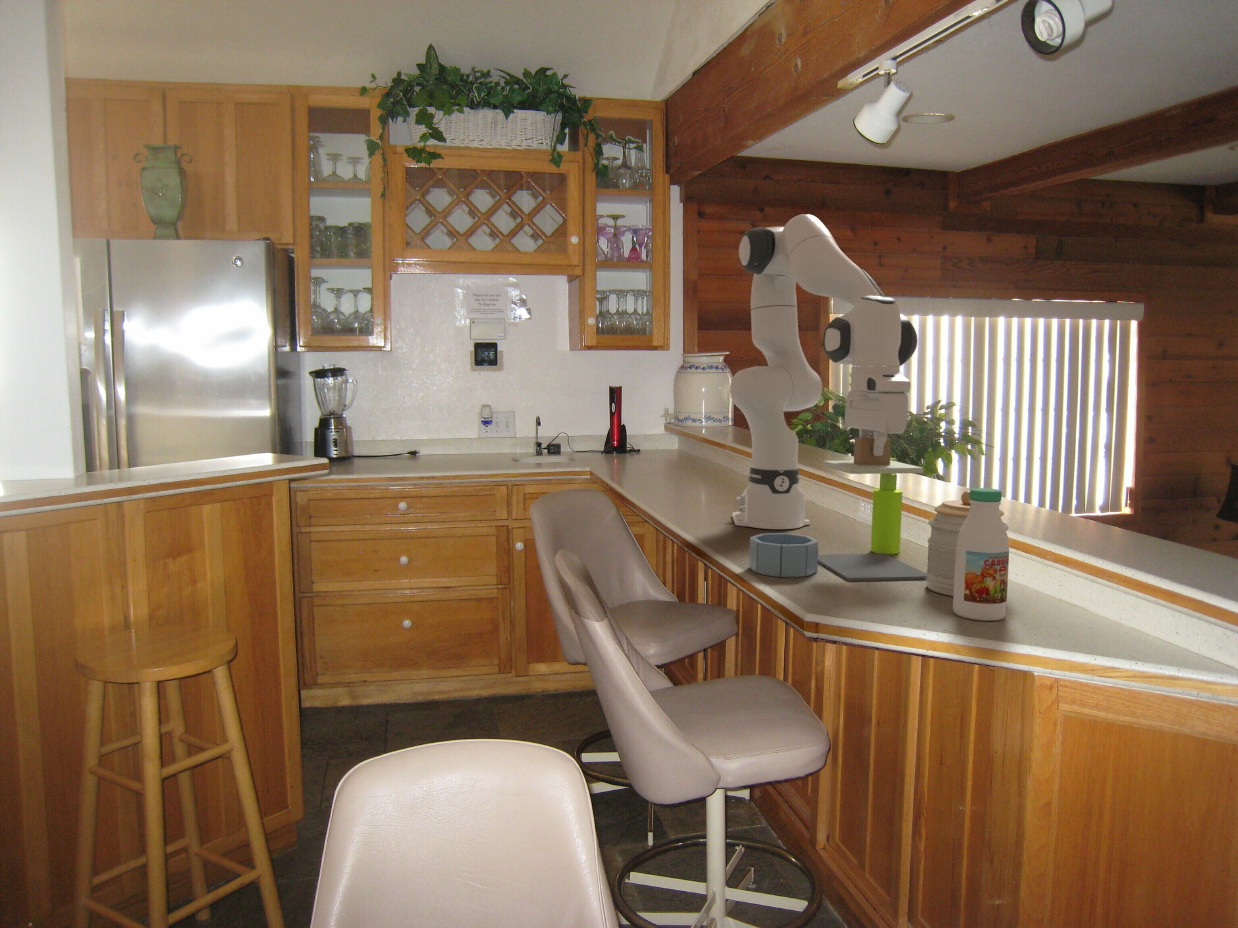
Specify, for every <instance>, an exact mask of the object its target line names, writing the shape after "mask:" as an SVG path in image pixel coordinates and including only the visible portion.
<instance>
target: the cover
mask: <svg viewBox="0 0 1238 928" xmlns="http://www.w3.org/2000/svg"><path fill="white" fill-rule="evenodd" d="M874 439H875V437H871V438H860V437H854V441H853V442H854V443H853V446H854V447H853V459H852V460H851V459H850V460H822V461H823V463H822V465H823V467H826V468H830V469H832V470H833V469H834V470H837V471H840V472H844V473H847V474H850V475H865V474H866V475H869V474H870V475H876V474H877V475H880V474H924V471H925V470H924V468H925V467H921V466H917V465H913V464H909V463H905V462H904V463H903V462H901V461H900V462H899V461H897V462H896V461H892V460H890V458H891V454H892V453H891V449H892V446H891V445H892V438H888V437H887V439H886V442H885V444H884V446H883V455H882V456H875V455H872V454H871V446H873V444H874Z"/></svg>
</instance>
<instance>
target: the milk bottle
mask: <svg viewBox="0 0 1238 928" xmlns="http://www.w3.org/2000/svg"><path fill="white" fill-rule="evenodd" d="M969 491H970V493H969V498H970V501H969V502H970V504H971V506H970V511H969V514H968V516H967V518H966V520H965V522H964V524H963V526H962V528H961V530H960V532H959V535H958V539H957V547H956V559H955V576H954V596H952V597H953V599H952V609H953V613H954V614H955V615H957V616H958V617H962V618H964V619H968V620H976V621H982V622H983V621H986V622H991V621H992V622H993V621H1001V620H1003V619H1005V617H1006V613H1007V603H1008V599H1007V598H1008V583H1009V561H1010V558H1009V557H1010V543H1009V541H1010V540H1009V536H1008V533H1007V531H1006V530H1005V527H1004V525H1003V523H1002V521H1003V519H1002V516H1000V512H999V509H1000V506H1001V505H1002V495H1003V493H1002V491H1001V490H1000V489H996V488H988V487H987V488H986V487H985V488H984V487H976V488H975V487H972V488H970V490H969ZM1001 519H1002V520H1001Z"/></svg>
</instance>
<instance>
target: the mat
mask: <svg viewBox="0 0 1238 928" xmlns="http://www.w3.org/2000/svg"><path fill="white" fill-rule="evenodd" d="M818 565H821V566H823V567H824V568H826V569H828V571H831V572H832V573H833V574H836V575H837V576H839V577H840V578H842V579H844V580H845V581H847V582H877V581H878V582H880V581H881V582H883V581H886V582H888V581H915V580H916V581H919V580H920V581H921V580H925V581H926V572H924V571H922V570H920V569H917V568H916V567H913V566H912V565H909V564H907V563H905V562H903V561H901V560H899V559H897V558H895V557H892V556H891V555H890V554H885V553H838V554H837V553H836V554H835V553H833V554H818Z"/></svg>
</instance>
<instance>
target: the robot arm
mask: <svg viewBox="0 0 1238 928" xmlns="http://www.w3.org/2000/svg"><path fill="white" fill-rule="evenodd" d="M738 259H739V262H740V265H741V267H742V268H743V269H744V271H746V272H747V273H749V274H753V277H752V282H751V289H750V290H751V292H750V320H751V321H750V323H751V341H752V343H753V345H754V346H755V348H756V349H757V350H759V351H760V352H762V354H763V356H764V358H765V359H766V362H767V365H768V366H767V365H764V366H761V365H756V366H751V367H746V368H743V369H740V370H738V371H737V372H736V373H735V374H734V375H733V377H732V380H731V382H730V386H729V393H730V398H731V400H732V403H733V404H734V405H735V406H736V407H737V408H738V409H739V410H740V411H741V413H742V414H743V416H744V417H745V419H746V422H747V424H748V426H749V431H750V435H751V467H750V469H749V473H748V481H749V482H748V484H747V486H746V487H745V489H744V491H743V492H742V494H741V495H740V496H736V498H735V506H736V507H740V508H739V511H733V512H731V517H732V520H733V522H734V525H735V526H739V527H750V528H756V529H765V530H766V529H767V530H791V529H798V528H801V527H803V526H808V525H811V520H810V519H809V518H808V519H807V518H805V517H806V515H805V512H806V510H805V492H804V491H803V490H802V489H801V488H800V487H799V483H800V477H801V476H800V469H799V468H798V461H799V460H798V459H799V438H798V435H797V434H796V432H794V431H793V430H792V429H790V428H789V426H788V425H787V424H788V423H787V422H786V419H785V415H784V414H785V413H784V412H799V411H802V410H806V409H809V408H812V407H813V406H815V405H817V403H818V402H819V401H820V399H821V397H822V395H823V382H822V379H821V377H820V375H819V374H818V373H817V372H816V371H815V370H814V369H812V367H811V366H810V364H809V362H808V361H807V359H806V356H805V354H804V351H803V349H802V346H801V342H800V335H799V327H798V326H799V324H798V323H799V322H798V321H799V320H798V302H797V291H796V289H797V284H798V286H799V287H801V289H803V290H804V291H806V292H807V293H810V294H812V295H816V296H821V297H827V298H831V299H835V300H839V301H843V302H845V303H847V304H850V305H852V306H853V308H852V309H850V310H849V311H847V312H846V313H844V314H843V315H841V316H839V317H838V316H837V317H835V318H833V319H832V320H831V321H830V322H829V323H828V324H827V325H826V327H825V329H824V332H823V341H822V343H823V344H822V345H823V350H824V353H825V354H826V356H827V357H828V359H829V360H830V361H831V362H833V363H834V364H835V363H837V364H839V365H840V364H841V365H850V366H851V368H850V372H851V373H850V391H849V390H848V391H847V395H846V400H845V409H844V410H845V412H844V423H845V426H846V427H847V428H851V429H858V435H859V437H858V438H875V439H874V444H873V446H871V454H872V455H875V456H882V455H883V446H884V444H885V442H886V439H887V438H888V434H893V435H895V434H897V435H898V434H904V432H905V430H906V427H907V423H908V421H907V420H908V413H909V410H908V409H909V398H908V394H907V393H909V392H910V391H911V388H912V387H911V385H912V384H911V381H910V380H909V379H908V378H907V377H905V376H904V375H903V374H902V372H901V371H900V369H901V366H903V365H905V364H906V362H908V361H909V360H910V359H911V357H912V356H913V355H914V353H915V351H916V349H917V346H918V335H917V331H916V328H915V327H914V325H913V324H912V322H911V321H910V320H909V319H908V318H907V316H904V315H903V314H901V308H900V304H899V302H898V300H896V299H895V298H893V297H889V296H886V295H885V293H884V292H883V290H881V288H880V286H878V284H877V282H875V280H874V279H873V278H872V277H871V276H870V274H868V272H867V271H865V270H864V269H863V268H861V267H859V266H858V265H857V264H856V263H854V261H852V260H851V259H850V258H849V257H848V256H847V255H846V254H845V253H844V251H842V250H841V249H840V247H839V245H838V243H837V242H836V240H835V238H834V237H833V235H832V233H831V232H830V230H829V229H828V228H827V227H826V225H825V224H824V223H823V222H822V220H820V219H819V218H818V217H817V216H815V215H812V214H810V213H808V214H806V213H805V214H804V213H803V214H798V215H796V216H794V217H792V218H790V219H789V220H788V221H787V222H786V224H785V225H784V226H769V227H763V226H758V227H753V228H750V229H748V230H746V232H744V234H742V236H741V238H740V242H739V246H738ZM872 436H873V437H872Z"/></svg>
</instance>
